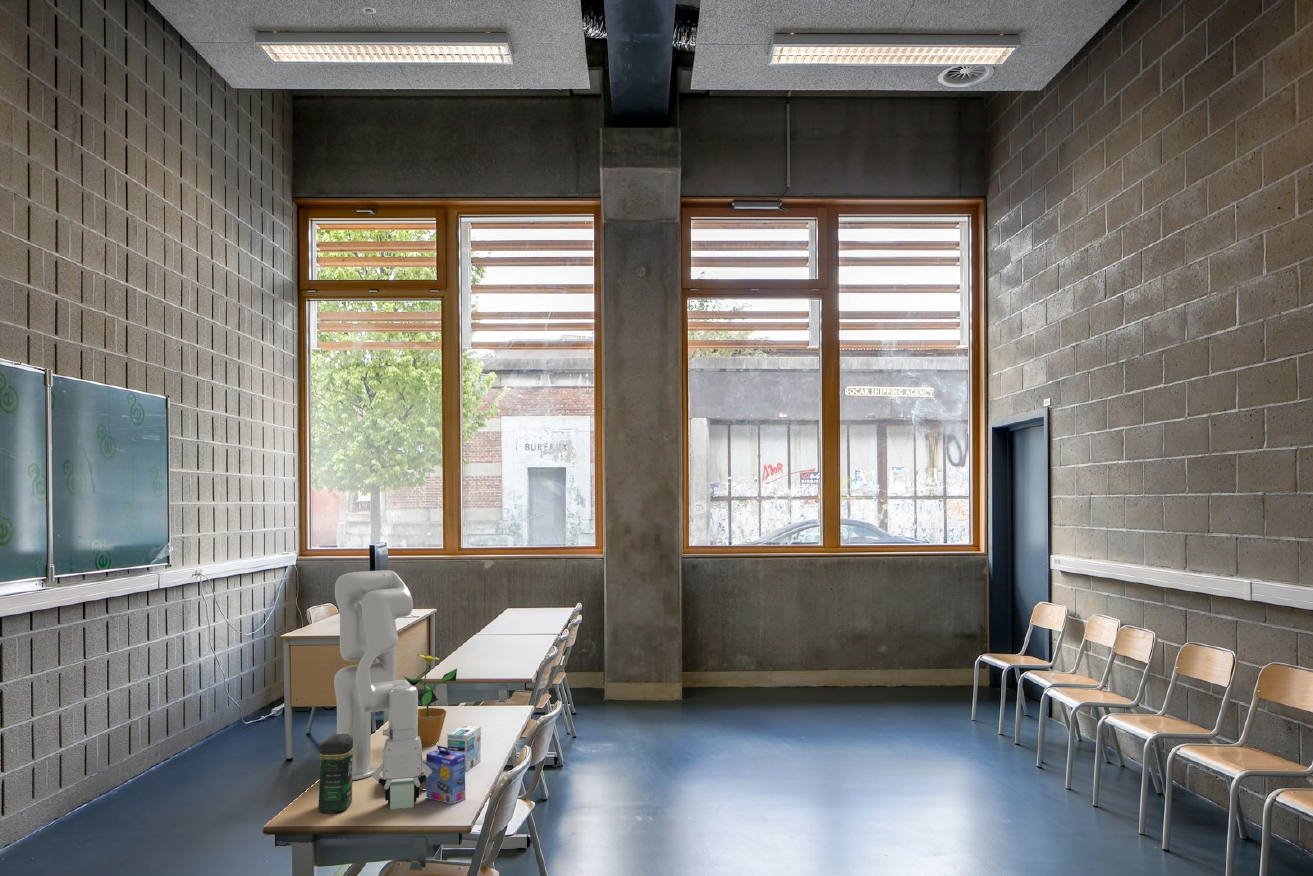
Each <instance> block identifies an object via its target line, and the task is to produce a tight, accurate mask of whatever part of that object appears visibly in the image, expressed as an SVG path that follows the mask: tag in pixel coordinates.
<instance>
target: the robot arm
mask: <svg viewBox="0 0 1313 876" xmlns="http://www.w3.org/2000/svg"><path fill="white" fill-rule="evenodd" d="M334 598H335V601H336V605H337V608H338V612H339V652H340V656H341V658H342V659H343V660H344V661H347V662H355V661H356V662H357V661H359V663H358V664H355V665H349V666H343V668H340V669H339V670H338V671H337V672H336V673H335V675H334V678H333V680H334V681H333V683H334V684H333V685H334V692H335V699H336V701H335V702H336V734H349V735H350V736H351V737H352V738H353V762H352V781H356V780H360V779H361V780H362V779H365V778H369V777H370V776H371V777H372V778H373V779H374V780H375V781H376V782H378V783H379V785H380V786H382V787H383V789H384V794H385V795H384V797H385V801H387V805H389V806H390V784H391V781H392V779H406V778H413V780H414V782H415V785H414V804H416V803H417V800H418V799H419V798H420V791H419V786H420V785H421V784H422V783H423V782H424V781H425V779H426V778H427V777H428V776H429V775H430V774H431V773H432V769H431V768H430V767H429V766H428V765H427V764H426V763H425V762H424V761H423V760H424V759H423V749H422V748H423V746H421V740H420V737H419V736H417V733H418V709H419V699H418V695H419V692H418V688H417V687H416V685H415V686H412V685H411V684H410V683H409V682H408V681H407V680H406V679H397V680H396V646H397V645H398V643H399V635H398V629H397V624H396V618H405V617H408V616H409V615H411V613H412V612H413V609H414V608H413V607H414V601H413V597H412V594H411V592H410V590H409V588H408V586H407V585H406V583H405V582H404V581H403V580H402V578H401V577H399V575H398V573H396V572H395V571H393V570H388V569H386V570H384V569H383V570H369V571H368V570H365V571H364V570H362V571H354V572H353V571H352V572H348V573H344V574H341V575H340V576H338V578H337V579H336V581H335V585H334ZM374 661H376V662H374ZM382 711H388V728H385V729H383V730H382V736H387V738H386V739H385V742H384V745H383V757H382V763H381V764H380V766H378V768H376V767H375V765H373V764H371V739H372V738H371V736H372V735H371V731H372V729H371V728H372V722H371V721H372V714H371V713H376V712H382ZM422 768H423V769H424V770H425V771H426V772H425V773H424V774H423V775H422V776H421V777H420V778H419V776H420V775H421V774H422ZM381 773H382V776H381V775H380V774H381ZM385 779H386V780H385Z"/></svg>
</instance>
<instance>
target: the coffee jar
mask: <svg viewBox="0 0 1313 876" xmlns="http://www.w3.org/2000/svg"><path fill="white" fill-rule="evenodd" d="M352 762H353V738H352V737H351V736H350V735H349V734H337V733H333V735H331V736H329V737H327V738H326V739H324V740H323V741H322V742H321V743H320V747H319V783H318V784H319V785H318V805H317V806H318V811H320V812H324V813H327V814H335V813H337V812H344V811H346V810H347V809H348V808H349V807H350V806H351V804H352V802H353V780H352Z"/></svg>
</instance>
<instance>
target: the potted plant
mask: <svg viewBox="0 0 1313 876" xmlns="http://www.w3.org/2000/svg"><path fill="white" fill-rule="evenodd" d="M416 655H417V656H418V657H421V658H423V659H424V660H425V661H426V663H427V664H426V669H425V674H424V679H423V678H413V677H409V676H408V677H407V676H406V675H405V676H404V675H403V676H402V677H403V678H404V680H406V681H407V682H408V683H409V684H410V685H412V686H415V687H416V685H417V684H418V683H419V684H420V685H422V687H423V692H422V693H421V694H418V702H420V704H421V705H422V707H424V708H418V733H417V736H419V737H420V740H421V746H422V747H429V746H428V745H432V744H435V745H437V744H438V743H439V741H440V737H441V734H442V730H443V727H444V723H445V720H446V715H447V711H446V710H445V709H444V708H439V707H429V705H430V704H432V703H435V702H437V701H439V699H438V697H437V696H436V694H435V691H434V689H435V688H436V687H437V686H438V685H440V683H441V682H456V681H457V672H458V668H457V667H456V668H455V669H452V670H451V671H449V672H447V673H445V674H443V676H442V678H441V680H440V681H439V682H438V683H436V684H435V685H434V687H432V688H431V687H429V686H428V685H426V679H427V674H428V673H427V672H428V665H429V663H430V662H432V661H434V660H438V661H441V659H442V658H441V657H436V656H432V655H427V654H420V653H418V654H416ZM425 707H426V708H425ZM437 742H438V743H437ZM436 743H437V744H436ZM432 746H433V745H432Z"/></svg>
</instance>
